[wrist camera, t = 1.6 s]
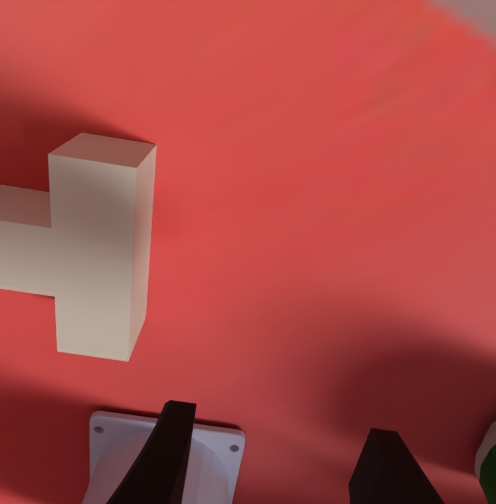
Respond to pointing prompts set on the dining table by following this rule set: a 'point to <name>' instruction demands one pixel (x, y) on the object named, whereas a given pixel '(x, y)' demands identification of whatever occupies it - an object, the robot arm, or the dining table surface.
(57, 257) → the t block
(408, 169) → the dining table surface
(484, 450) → the soda can
